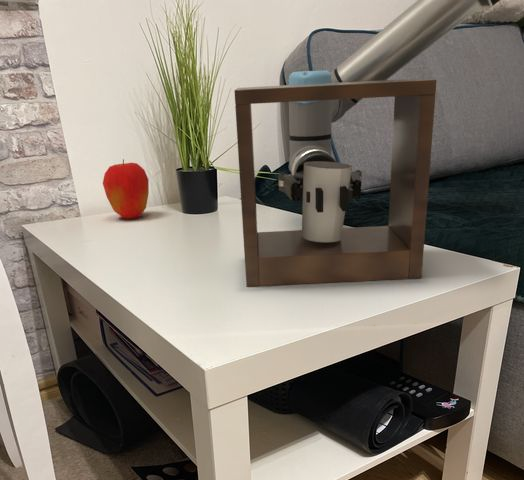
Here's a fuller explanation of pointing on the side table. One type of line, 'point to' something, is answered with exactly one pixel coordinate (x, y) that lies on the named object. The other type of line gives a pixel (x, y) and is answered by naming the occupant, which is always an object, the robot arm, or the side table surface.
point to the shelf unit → (353, 239)
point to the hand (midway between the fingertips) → (333, 201)
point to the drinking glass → (324, 200)
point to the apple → (127, 189)
